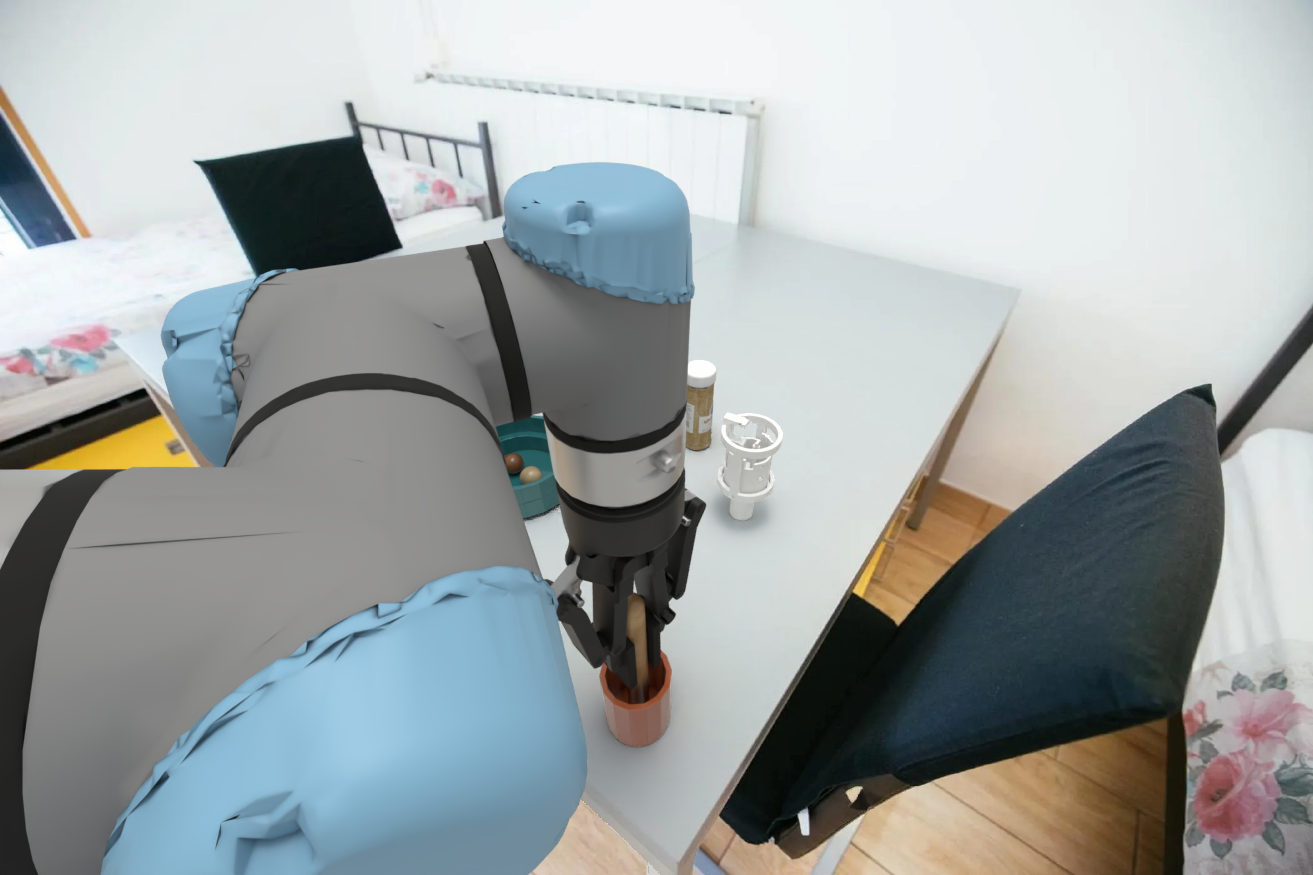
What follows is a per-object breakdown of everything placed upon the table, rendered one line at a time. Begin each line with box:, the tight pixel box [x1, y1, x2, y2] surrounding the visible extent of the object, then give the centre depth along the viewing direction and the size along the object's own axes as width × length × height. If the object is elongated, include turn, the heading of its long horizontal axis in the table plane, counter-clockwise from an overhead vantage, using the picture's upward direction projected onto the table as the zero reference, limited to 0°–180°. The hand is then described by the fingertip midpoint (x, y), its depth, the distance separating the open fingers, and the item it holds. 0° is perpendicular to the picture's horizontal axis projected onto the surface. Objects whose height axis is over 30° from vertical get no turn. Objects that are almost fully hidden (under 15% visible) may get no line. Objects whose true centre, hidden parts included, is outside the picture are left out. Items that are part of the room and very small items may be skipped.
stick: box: [626, 591, 650, 704], centre depth 45 cm, size 2×2×18 cm
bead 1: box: [504, 453, 524, 474], centre depth 76 cm, size 3×3×3 cm
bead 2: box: [520, 466, 542, 485], centre depth 74 cm, size 3×3×3 cm
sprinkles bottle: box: [685, 359, 717, 451], centre depth 78 cm, size 5×5×13 cm
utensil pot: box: [598, 649, 673, 748], centre depth 50 cm, size 6×6×8 cm
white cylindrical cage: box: [716, 412, 784, 522], centre depth 67 cm, size 7×7×15 cm
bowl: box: [496, 414, 560, 519], centre depth 75 cm, size 15×15×6 cm
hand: (635, 665), depth 46 cm, fingers closed on stick, 2 cm apart
